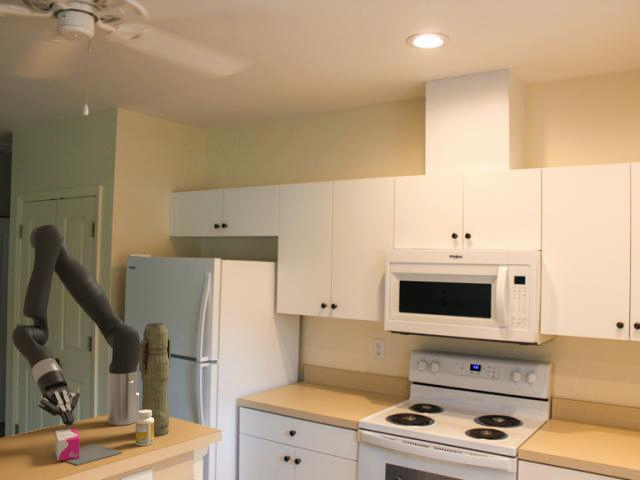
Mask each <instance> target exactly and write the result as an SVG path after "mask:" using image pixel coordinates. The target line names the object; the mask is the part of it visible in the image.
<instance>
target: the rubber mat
mask: <svg viewBox="0 0 640 480" xmlns="http://www.w3.org/2000/svg"><path fill="white" fill-rule="evenodd" d="M122 454H123V452H122V451H120V450H116V449H114V448H110V447H106V446H104V445H100V444H97V443H92V444H87V445H84V446H80V449H79V458H77V459H69V460H62V461H63V462H66V463H69V464H72V465H74V466H82V465H84V464H85V465H86V464H88V463H93V462H96V461H99V460H102V459H106V458H111V457H114V456H117V455H122ZM49 456H50V457H52V458H55V459H57V455H56V452H55V453H51V454H49Z"/></svg>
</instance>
